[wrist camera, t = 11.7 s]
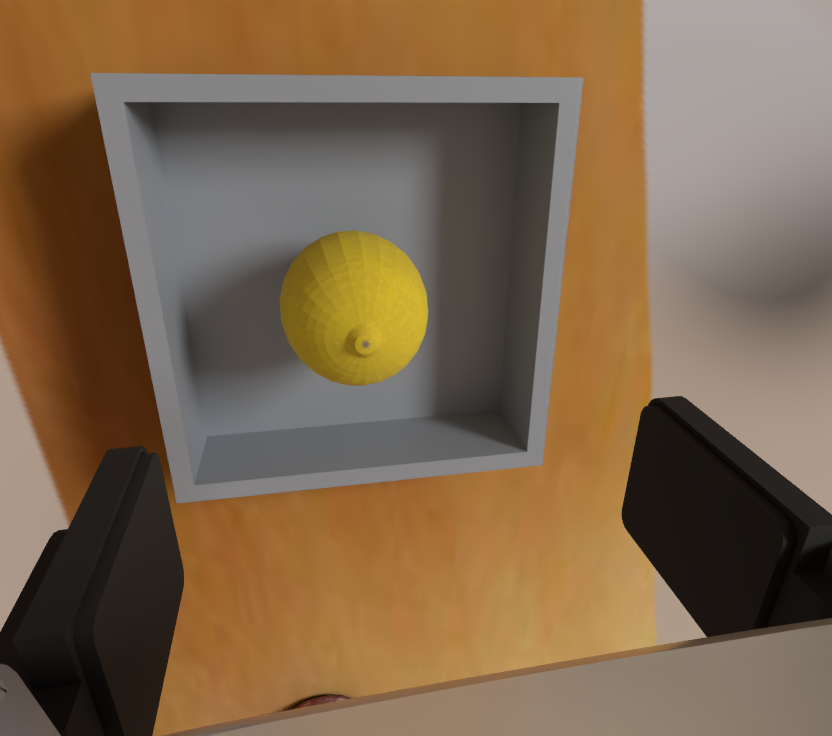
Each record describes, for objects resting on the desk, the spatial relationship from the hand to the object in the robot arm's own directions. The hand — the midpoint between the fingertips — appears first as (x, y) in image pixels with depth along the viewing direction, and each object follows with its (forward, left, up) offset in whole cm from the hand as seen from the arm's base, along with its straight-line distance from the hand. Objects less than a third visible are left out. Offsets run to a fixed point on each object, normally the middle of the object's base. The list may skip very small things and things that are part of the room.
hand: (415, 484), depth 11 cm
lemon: (0, 0, -16) cm, 16 cm away
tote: (+1, 0, -17) cm, 17 cm away
